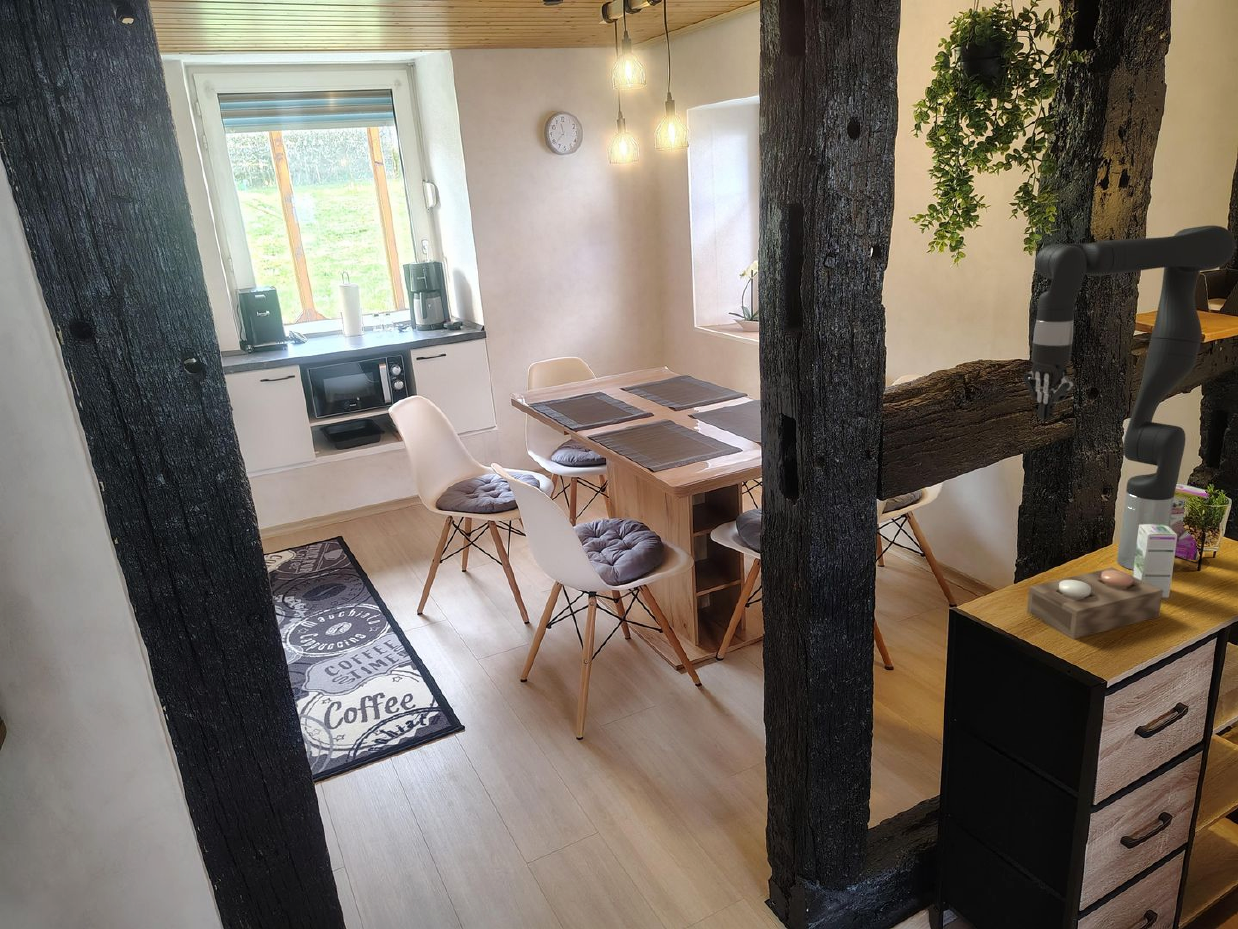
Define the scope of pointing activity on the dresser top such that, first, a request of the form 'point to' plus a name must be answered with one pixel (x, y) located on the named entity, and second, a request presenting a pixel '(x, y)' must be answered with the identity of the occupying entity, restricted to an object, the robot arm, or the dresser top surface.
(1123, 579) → the terracotta knob
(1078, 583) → the cream knob
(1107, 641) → the dresser top surface
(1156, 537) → the syrup box
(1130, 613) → the brown wooden block
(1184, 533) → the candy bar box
